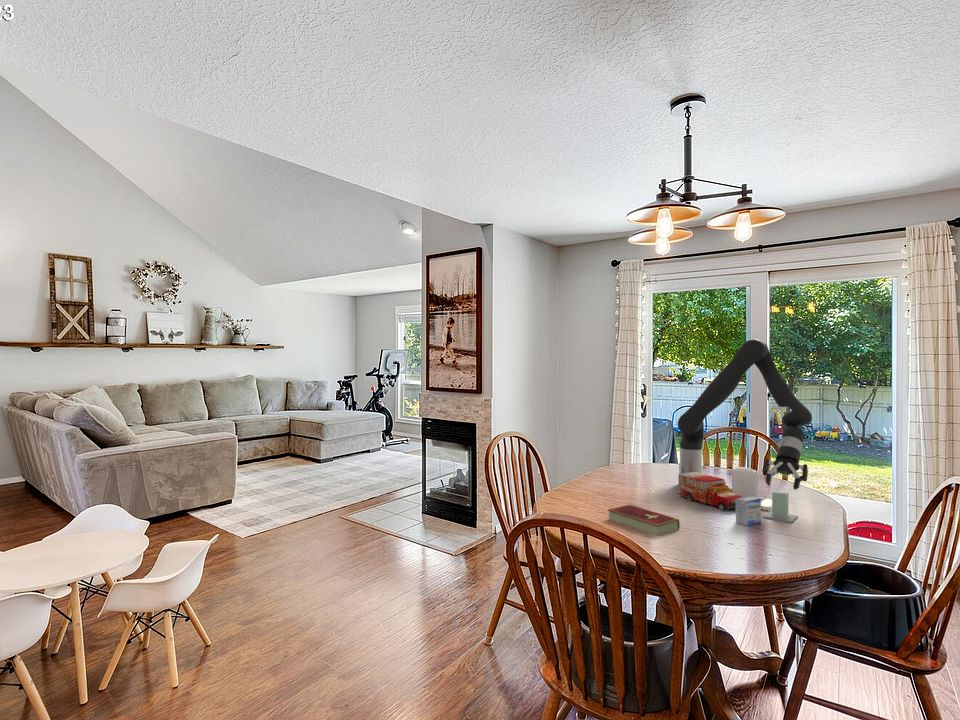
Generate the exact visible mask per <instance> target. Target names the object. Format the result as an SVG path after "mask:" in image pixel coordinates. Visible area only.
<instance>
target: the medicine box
mask: <svg viewBox="0 0 960 720" xmlns="http://www.w3.org/2000/svg"><path fill="white" fill-rule="evenodd" d="M761 502H762V499H761V498H760V497H759V498H757V497H752V496H748V497H743V498H738V499H736V509H735V523H736V524H740V525H743V526H745V527H746V526H747V527H748V526H749V525H750V526H753V525H757V524H760V523H762V510H761Z"/></svg>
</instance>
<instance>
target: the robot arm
mask: <svg viewBox="0 0 960 720" xmlns="http://www.w3.org/2000/svg"><path fill="white" fill-rule="evenodd" d="M753 365H755V367H757V369H758V370H759V372H760V373H761V376H762V377H763V380H764V383H765V384H766V388H767V389H768V391H769V393H770V395H771V397H772V398H773V400H774V402H775V403H776V405H777V406H778V407H780V408H786V407H788V409H790V410H791V411H788V412H786V413H784V415H783V416H782V418H781V426H782V435H781V439H780V441H779V444H778V449H777V453H776V456H775V460H774V461H771V460H769V459H768V458H767V459H765V461H764V464H763V465H762V469H761V471H762V475H763V476H766V477H765V483H766V484H767V486H769V487H770V486H771V483H772V479H773V478H772V477H774V476H777V475H778V474H781V475H787V476H790V475H792V476H793V478H794V481H793V484H792V485H793V490H796V491H797V490H799V488H800V484H801V482H808V474H809V467H808V464H806V463H804V464H800V461H801V455H802V451H803V450H802V449H803V442H804V437H805V433H804V430H803V429H802V428H801V427H804V426H806V425H807V426H808V425H809V424H811V423H812V420H813V416H812V413H811V411H810V409H808V407H806V406H805V405H804V404H803V403H802V402H801V401H800V400H799V399H798V398H797V397H796V396H795V395H794V393H793V392H792V390H791V388H790V387H789V385H788V384H787V382H786V380H785V379H784V377H783V376H782V374H781V373H780V371H779V370H778V367H777V366H776V364H775V362H774V360H773V357H772V355H771V352H770V349H769V347H768V345H767V343H766V342H765V341H763V340H760V339H756V338H755V339H754V338H751V339H748V340H746V341H745V342H744V343H743V344H742V345H741V346H740V348H739V349H738V350H737V352H736V353H735V355H734V356H733V358H732V359H731V360H730V362H729V363H728V364H727V365H725V367H724V368H723V369H722V370H721V371H720V372H719V373H718V374H717V375H716V376H715V377H714V378H713V380H712V381H711V382H710V383H709V384H708V385H707V386H706V387H705V389H704V390H703V391H702V393H701V394H700V396H699V397H698V398H697V400H696V401H695V402H694V404H692V406H690V408H688V409H687V410H686V411H685V412H684V413H683V414H681V415H680V417H679V418H678V421H677V428H678V431H680V432H681V434H682V437H681V439H680V442H679V464H678V475H679V474H682V473H689V472H698V473H702V474H703V463H702V462H703V443H704V430H705V429H704V427H705V426H704V420H705V419H706V417H707V416H709V414H710V413H711V412H713V411H714V410H715V409H716V408H718V407H720V406H721V404H723V403H724V402H725V401H726V400H727V399H728V398H730V396H731V395H732V393H733V392H734V391H735V390H736V389H737V388H738V385H739V384H740V382H741V380H742V378H743V376H744V375H745V373H747V371H748V370H749V369H750V368H751V367H752V366H753ZM772 466H773V467H772ZM770 468H771V469H770ZM799 470H801V472H802V474H801V475H800V474H799V473H798V471H799Z"/></svg>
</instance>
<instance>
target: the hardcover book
mask: <svg viewBox="0 0 960 720" xmlns="http://www.w3.org/2000/svg"><path fill="white" fill-rule="evenodd" d="M607 511H608V513H609V514H608V516H609V517H608V519H609V520H610V521H614V522H616V523H618V524H622V525H625V526H628V527H631V528H634V529H637V530H639V531H642V532H645V533H649V534H651V535H654V536H662V535H663V534H667V533H671V532H673V531H676V530H680V519H679V518H676V517H673V516H670V515H665V514H662V513H659V512H656V511H652V510H650V509H649V510H648V509H645V508H642V507H639V506H636V505H632V504H625V505H621V506H617V507H613V508H609V509H607Z"/></svg>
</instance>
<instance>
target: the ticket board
mask: <svg viewBox="0 0 960 720" xmlns="http://www.w3.org/2000/svg"><path fill="white" fill-rule="evenodd" d="M761 509H763V510H762V511H766V510H768V512H769V511H772V498H771V499H770V498H765V499H763V500H761Z"/></svg>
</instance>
